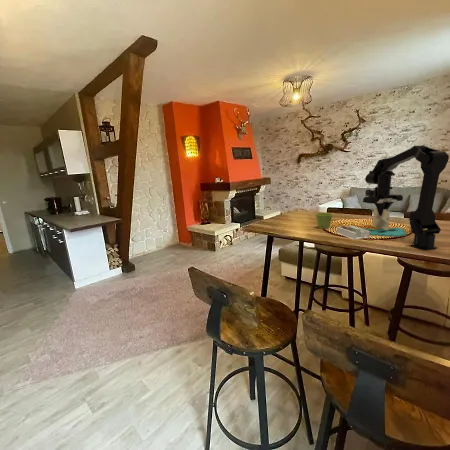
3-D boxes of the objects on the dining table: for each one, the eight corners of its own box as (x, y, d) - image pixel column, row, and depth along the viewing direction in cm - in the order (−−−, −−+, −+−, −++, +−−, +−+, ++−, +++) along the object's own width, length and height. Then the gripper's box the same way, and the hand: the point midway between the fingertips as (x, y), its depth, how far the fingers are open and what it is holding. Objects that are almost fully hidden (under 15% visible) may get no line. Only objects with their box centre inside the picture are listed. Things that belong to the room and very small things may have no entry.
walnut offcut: (350, 235, 129) (351, 227, 128) (348, 235, 129) (348, 228, 128) (343, 232, 135) (343, 225, 134) (340, 232, 134) (341, 225, 134)
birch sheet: (388, 229, 129) (389, 210, 127) (386, 230, 129) (387, 210, 126) (374, 226, 137) (375, 207, 135) (372, 226, 137) (374, 207, 135)
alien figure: (352, 232, 140) (383, 241, 121) (353, 228, 139) (384, 237, 120) (382, 227, 145) (416, 236, 126) (382, 224, 144) (417, 232, 125)
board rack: (370, 239, 125) (371, 231, 124) (353, 241, 123) (353, 233, 122) (351, 232, 138) (351, 225, 137) (335, 234, 136) (335, 227, 135)
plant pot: (314, 226, 154) (314, 212, 152) (330, 226, 152) (331, 212, 151) (316, 230, 146) (316, 215, 144) (333, 230, 144) (334, 215, 142)
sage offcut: (359, 237, 126) (360, 229, 125) (357, 237, 125) (357, 229, 124) (351, 234, 131) (351, 226, 130) (349, 234, 131) (349, 226, 130)
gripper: (387, 182, 137) (384, 211, 141) (356, 185, 134) (354, 214, 137) (405, 183, 126) (402, 214, 130) (372, 186, 123) (370, 218, 127)
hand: (381, 215), depth 131 cm, fingers closed on birch sheet, 1 cm apart
